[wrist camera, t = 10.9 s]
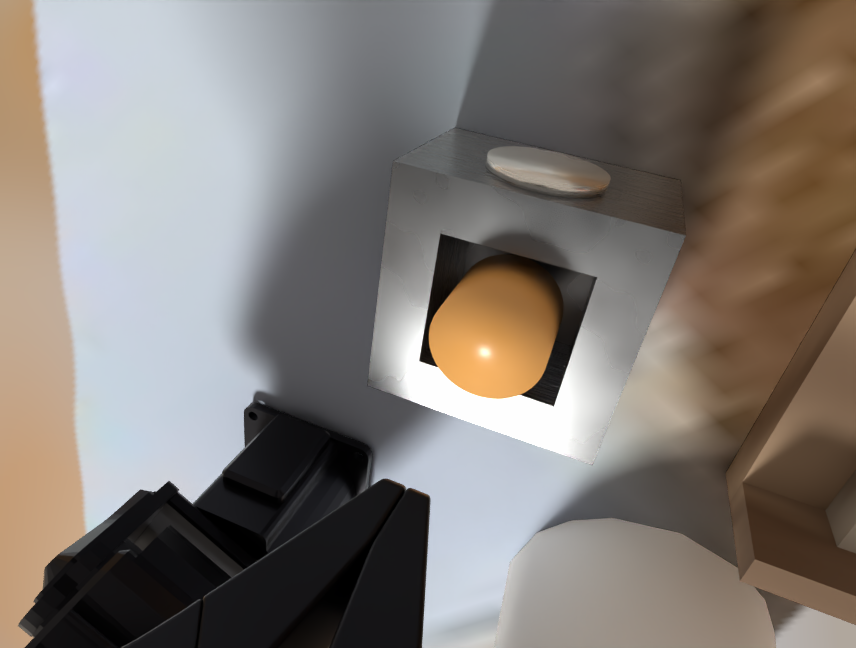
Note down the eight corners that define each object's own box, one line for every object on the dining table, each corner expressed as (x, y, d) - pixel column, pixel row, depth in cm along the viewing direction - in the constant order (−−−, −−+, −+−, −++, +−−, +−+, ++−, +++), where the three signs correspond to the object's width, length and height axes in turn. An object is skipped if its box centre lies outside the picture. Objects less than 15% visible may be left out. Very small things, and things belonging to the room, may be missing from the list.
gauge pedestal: (606, 373, 20) (592, 465, 16) (423, 315, 22) (367, 385, 18) (684, 170, 17) (690, 222, 12) (456, 118, 18) (394, 148, 14)
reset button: (557, 335, 18) (531, 414, 14) (467, 307, 19) (421, 377, 15) (585, 248, 16) (562, 312, 13) (485, 221, 17) (438, 275, 14)
